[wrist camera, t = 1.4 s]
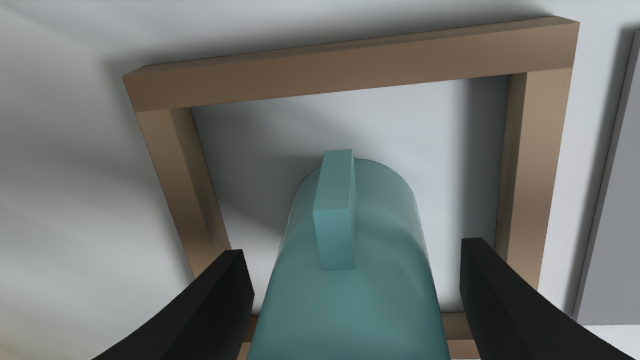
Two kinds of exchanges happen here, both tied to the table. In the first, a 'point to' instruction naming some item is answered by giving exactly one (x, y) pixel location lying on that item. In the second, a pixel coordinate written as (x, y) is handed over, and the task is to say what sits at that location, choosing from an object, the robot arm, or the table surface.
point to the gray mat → (616, 220)
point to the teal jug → (351, 272)
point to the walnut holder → (362, 73)
